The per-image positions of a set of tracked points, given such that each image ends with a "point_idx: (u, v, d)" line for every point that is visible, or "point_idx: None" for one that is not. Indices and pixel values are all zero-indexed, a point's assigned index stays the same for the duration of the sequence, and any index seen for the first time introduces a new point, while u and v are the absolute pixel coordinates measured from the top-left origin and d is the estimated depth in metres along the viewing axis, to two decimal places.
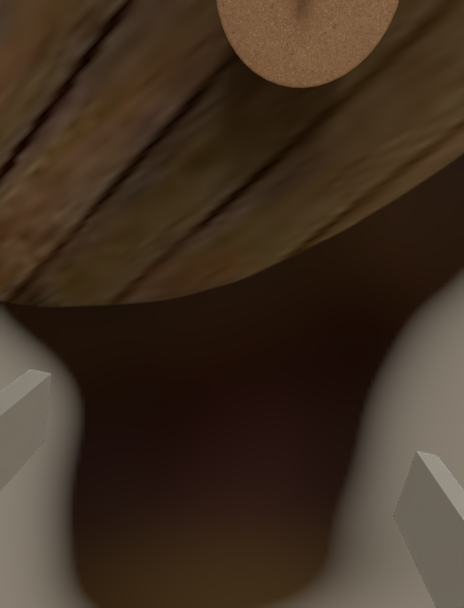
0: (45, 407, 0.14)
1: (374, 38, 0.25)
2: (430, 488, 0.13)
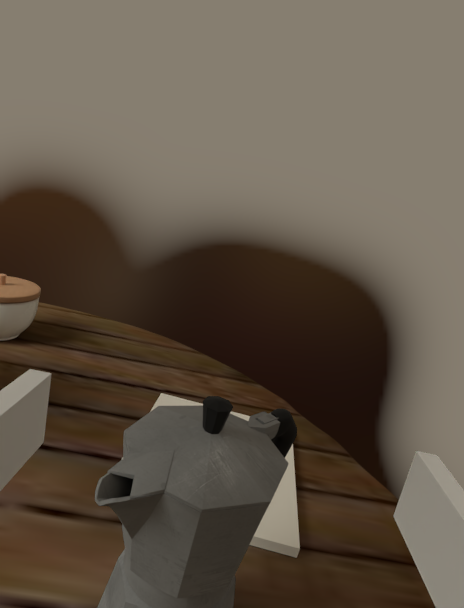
0: (45, 407, 0.14)
1: (8, 276, 0.67)
2: (430, 488, 0.13)
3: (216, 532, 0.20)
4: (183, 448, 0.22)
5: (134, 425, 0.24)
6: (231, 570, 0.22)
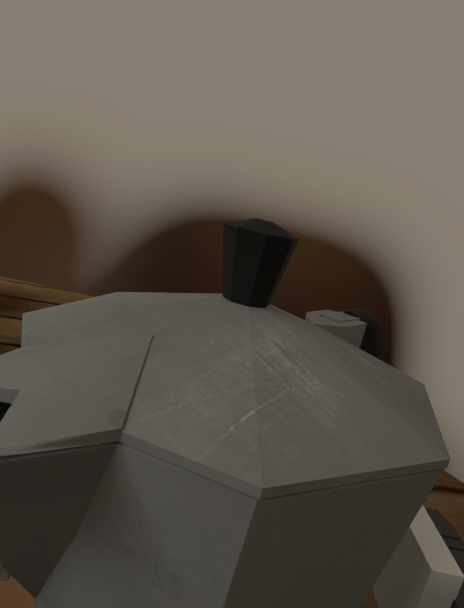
0: None
1: None
2: None
3: (297, 567, 0.06)
4: (178, 331, 0.08)
5: (53, 307, 0.10)
6: None
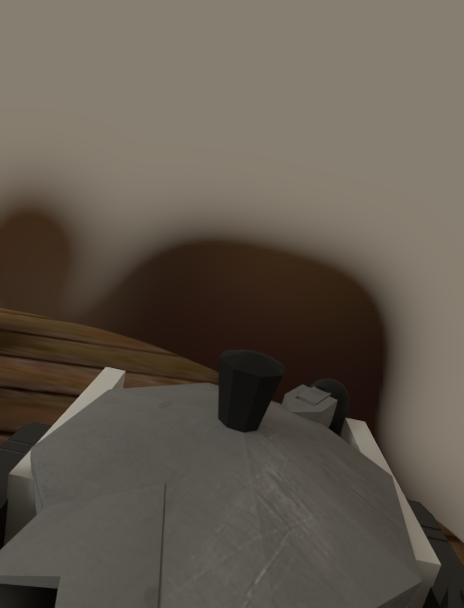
0: None
1: None
2: None
3: None
4: (186, 474, 0.09)
5: (57, 432, 0.10)
6: None
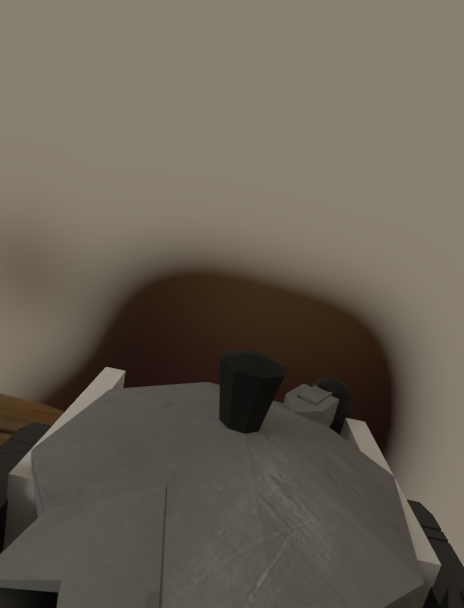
0: None
1: None
2: None
3: None
4: (187, 476, 0.09)
5: (57, 434, 0.10)
6: None
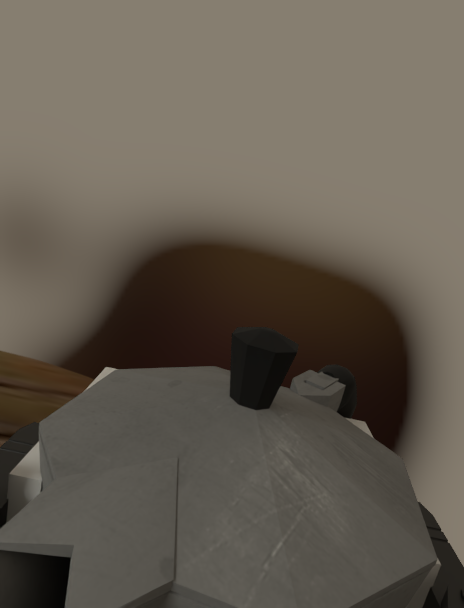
0: None
1: None
2: None
3: None
4: (199, 449, 0.08)
5: (65, 408, 0.10)
6: None
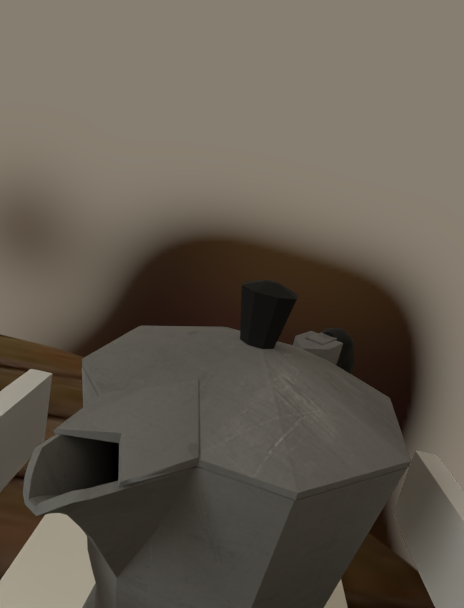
0: (46, 407, 0.14)
1: None
2: (430, 487, 0.13)
3: (312, 541, 0.09)
4: (216, 375, 0.10)
5: (102, 350, 0.12)
6: (318, 607, 0.11)
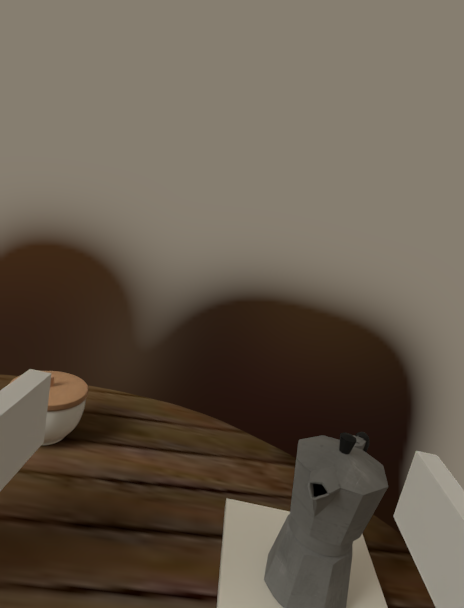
0: (45, 407, 0.14)
1: (50, 371, 0.65)
2: (430, 488, 0.13)
3: (364, 506, 0.38)
4: (337, 464, 0.39)
5: (299, 454, 0.41)
6: (364, 527, 0.40)
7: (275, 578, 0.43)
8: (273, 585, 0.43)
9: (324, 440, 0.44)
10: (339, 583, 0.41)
